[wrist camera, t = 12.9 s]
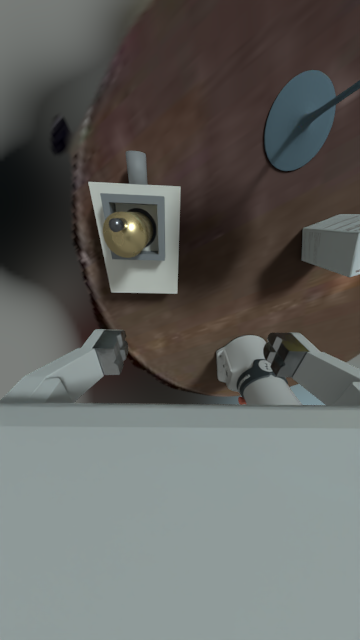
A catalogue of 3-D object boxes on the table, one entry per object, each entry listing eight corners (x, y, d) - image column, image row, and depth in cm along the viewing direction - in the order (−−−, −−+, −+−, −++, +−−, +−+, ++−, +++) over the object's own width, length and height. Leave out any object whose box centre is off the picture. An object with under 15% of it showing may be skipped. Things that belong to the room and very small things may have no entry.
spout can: (154, 245, 30) (143, 264, 19) (126, 244, 29) (98, 263, 19) (152, 212, 27) (138, 212, 16) (121, 211, 27) (86, 210, 16)
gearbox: (176, 283, 40) (177, 299, 33) (119, 282, 39) (106, 298, 32) (180, 161, 28) (182, 143, 21) (97, 156, 27) (68, 135, 20)
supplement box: (334, 249, 37) (398, 263, 27) (300, 261, 38) (348, 279, 28) (340, 212, 33) (417, 212, 23) (301, 227, 34) (359, 233, 24)
